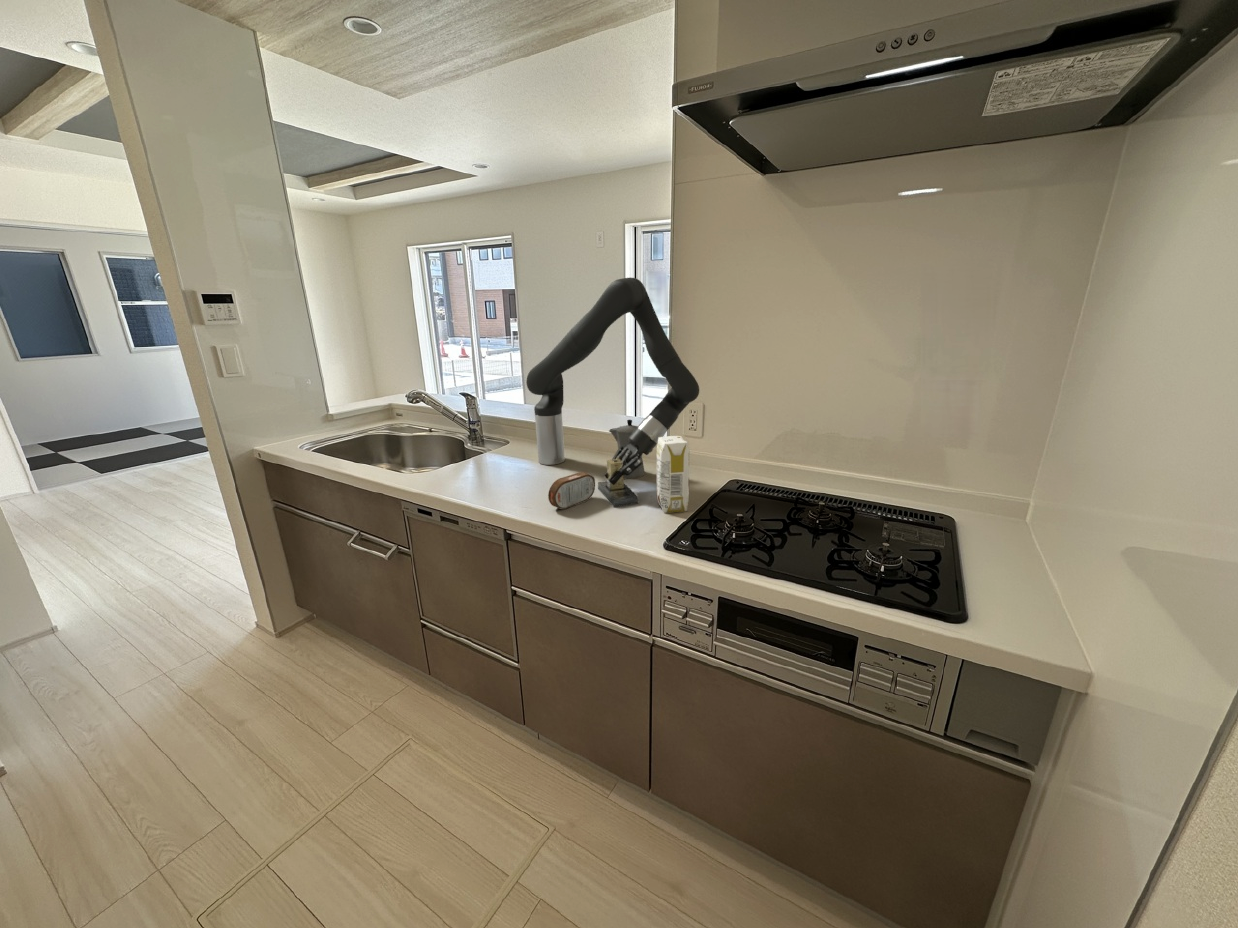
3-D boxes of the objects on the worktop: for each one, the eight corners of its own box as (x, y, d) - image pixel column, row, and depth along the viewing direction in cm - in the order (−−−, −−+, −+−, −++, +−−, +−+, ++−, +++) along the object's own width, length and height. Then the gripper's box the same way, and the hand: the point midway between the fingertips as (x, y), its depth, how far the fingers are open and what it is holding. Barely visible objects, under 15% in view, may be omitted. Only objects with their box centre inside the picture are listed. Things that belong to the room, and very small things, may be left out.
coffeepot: (608, 478, 153) (606, 423, 147) (612, 469, 162) (610, 416, 156) (657, 479, 151) (657, 423, 146) (658, 469, 160) (658, 416, 154)
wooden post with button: (607, 492, 142) (605, 459, 138) (620, 490, 143) (619, 458, 140) (610, 497, 138) (609, 463, 135) (624, 494, 140) (623, 461, 137)
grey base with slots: (598, 488, 145) (597, 482, 144) (620, 485, 147) (620, 479, 146) (614, 507, 132) (614, 500, 131) (638, 503, 134) (638, 496, 133)
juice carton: (662, 515, 126) (662, 445, 120) (654, 502, 134) (654, 436, 128) (690, 512, 127) (692, 443, 121) (681, 500, 135) (682, 434, 129)
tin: (590, 495, 140) (589, 467, 138) (597, 498, 138) (596, 470, 136) (548, 510, 130) (546, 481, 128) (555, 514, 128) (553, 484, 126)
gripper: (630, 421, 143) (592, 465, 143) (648, 432, 130) (607, 480, 131) (646, 436, 147) (609, 479, 147) (666, 449, 134) (625, 496, 134)
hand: (608, 480), depth 139 cm, fingers closed on wooden post with button, 3 cm apart
